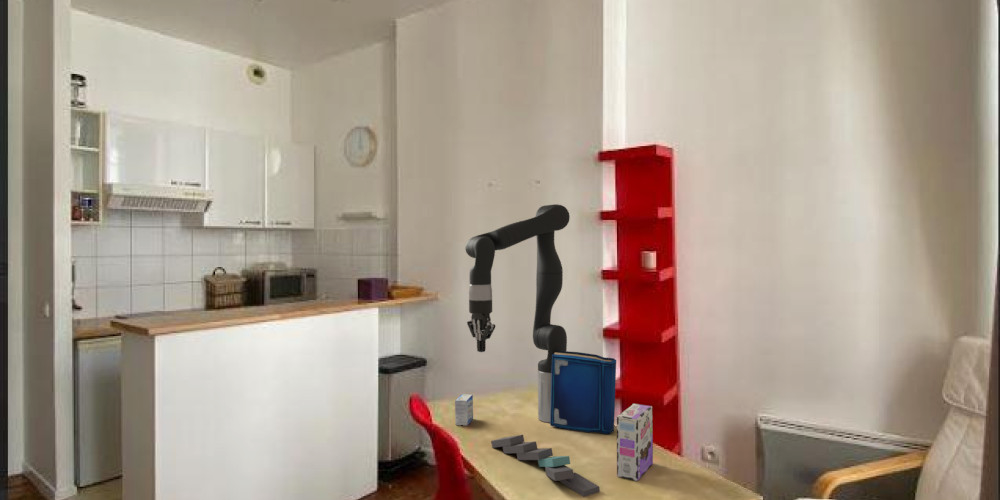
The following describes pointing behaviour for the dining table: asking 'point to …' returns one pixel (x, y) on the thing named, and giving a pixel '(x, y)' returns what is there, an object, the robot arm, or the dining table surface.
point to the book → (583, 392)
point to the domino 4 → (554, 461)
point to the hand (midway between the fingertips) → (481, 351)
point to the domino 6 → (581, 485)
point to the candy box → (634, 441)
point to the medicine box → (464, 410)
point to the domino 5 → (559, 472)
